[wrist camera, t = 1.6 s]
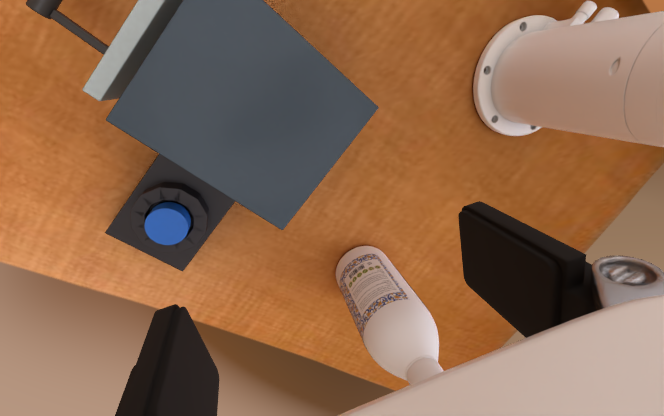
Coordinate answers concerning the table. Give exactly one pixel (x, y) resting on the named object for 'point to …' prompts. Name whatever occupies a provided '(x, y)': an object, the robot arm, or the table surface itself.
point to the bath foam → (389, 315)
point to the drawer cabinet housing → (243, 105)
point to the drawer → (117, 43)
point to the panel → (180, 188)
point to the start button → (167, 223)
